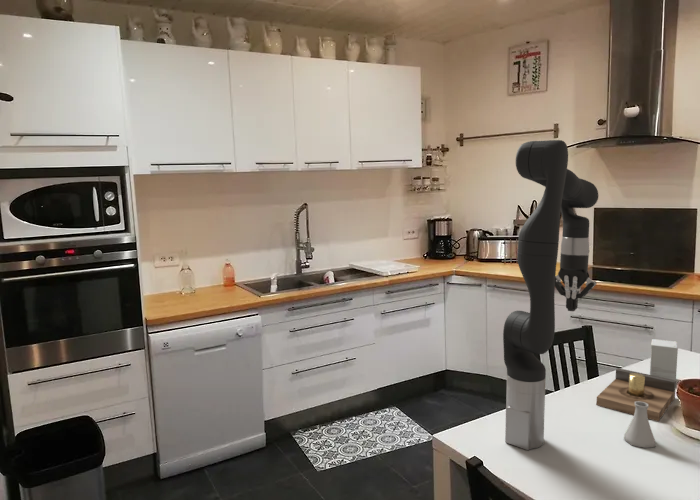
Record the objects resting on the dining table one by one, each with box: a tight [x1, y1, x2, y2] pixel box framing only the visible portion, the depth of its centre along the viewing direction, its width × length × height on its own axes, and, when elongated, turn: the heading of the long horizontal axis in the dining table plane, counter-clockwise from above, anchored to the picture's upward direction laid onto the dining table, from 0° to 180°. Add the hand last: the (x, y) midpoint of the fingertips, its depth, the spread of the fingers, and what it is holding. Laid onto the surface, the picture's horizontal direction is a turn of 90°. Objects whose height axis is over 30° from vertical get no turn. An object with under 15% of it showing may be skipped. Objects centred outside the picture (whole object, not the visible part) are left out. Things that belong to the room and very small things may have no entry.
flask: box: [623, 401, 656, 449], centre depth 128 cm, size 7×7×10 cm
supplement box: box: [649, 338, 679, 381], centre depth 166 cm, size 7×7×13 cm
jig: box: [595, 367, 677, 422], centre depth 151 cm, size 20×16×6 cm
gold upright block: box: [628, 373, 645, 397], centre depth 151 cm, size 4×4×8 cm
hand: (571, 310), depth 151 cm, fingers closed
